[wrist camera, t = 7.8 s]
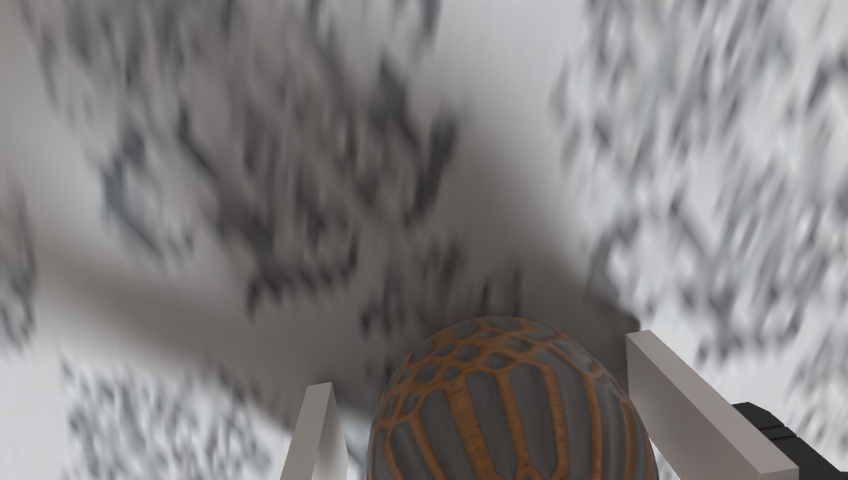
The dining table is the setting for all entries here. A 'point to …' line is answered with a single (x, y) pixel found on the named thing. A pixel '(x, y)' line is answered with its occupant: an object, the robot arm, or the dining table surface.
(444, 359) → the vase
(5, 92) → the dining table surface
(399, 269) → the dining table surface
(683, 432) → the robot arm
